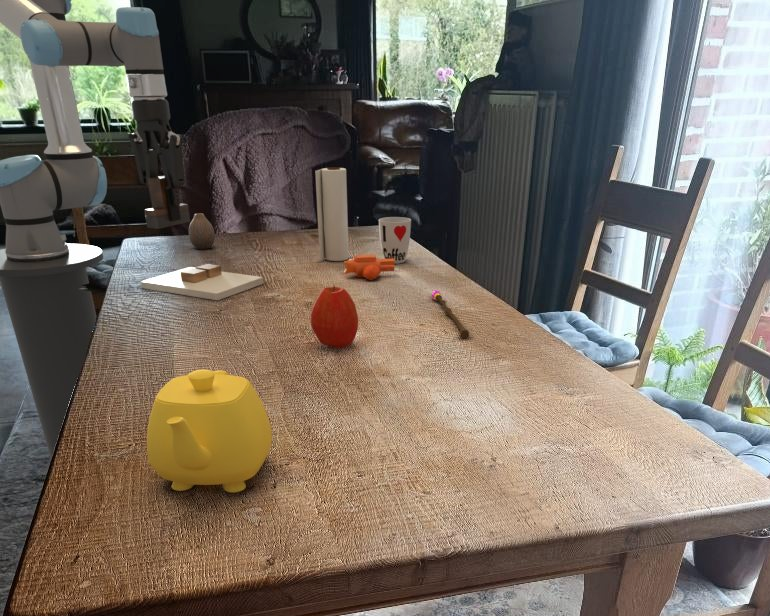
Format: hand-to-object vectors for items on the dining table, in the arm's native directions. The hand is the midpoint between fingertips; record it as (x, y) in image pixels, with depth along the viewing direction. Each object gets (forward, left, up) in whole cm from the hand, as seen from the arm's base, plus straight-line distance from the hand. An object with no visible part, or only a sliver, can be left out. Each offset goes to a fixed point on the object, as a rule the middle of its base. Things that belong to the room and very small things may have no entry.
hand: (168, 219), depth 159 cm
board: (+9, -1, -13) cm, 16 cm away
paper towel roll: (+21, +36, -13) cm, 44 cm away
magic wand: (+68, +4, -13) cm, 69 cm away
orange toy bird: (+39, +23, -13) cm, 47 cm away
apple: (+58, -22, -13) cm, 64 cm away
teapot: (+71, -70, -13) cm, 101 cm away
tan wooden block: (+8, +2, -12) cm, 14 cm away
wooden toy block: (0, 0, -1) cm, 1 cm away
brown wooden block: (+8, -3, -12) cm, 15 cm away
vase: (-19, +31, -13) cm, 38 cm away
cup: (+36, +41, -13) cm, 56 cm away
